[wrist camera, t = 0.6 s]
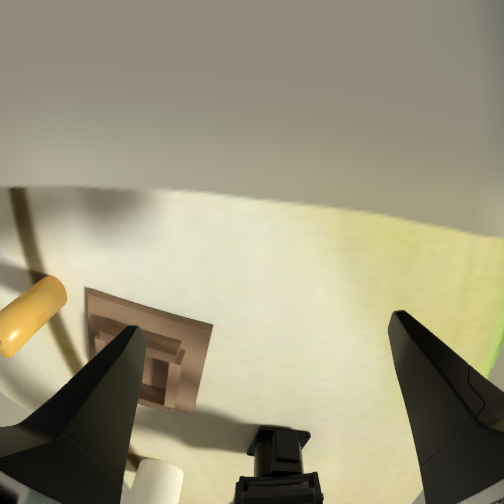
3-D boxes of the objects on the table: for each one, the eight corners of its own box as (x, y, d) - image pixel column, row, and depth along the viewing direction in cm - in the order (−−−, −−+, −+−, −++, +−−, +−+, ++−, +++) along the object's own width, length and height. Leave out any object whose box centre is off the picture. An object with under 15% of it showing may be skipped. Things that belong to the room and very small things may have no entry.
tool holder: (194, 407, 30) (189, 428, 27) (96, 376, 29) (85, 394, 26) (213, 324, 26) (207, 346, 23) (92, 289, 26) (76, 304, 23)
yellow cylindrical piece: (67, 311, 27) (-2, 385, 15) (42, 300, 26) (-29, 366, 15) (66, 281, 25) (-14, 352, 14) (40, 271, 25) (-40, 332, 13)
